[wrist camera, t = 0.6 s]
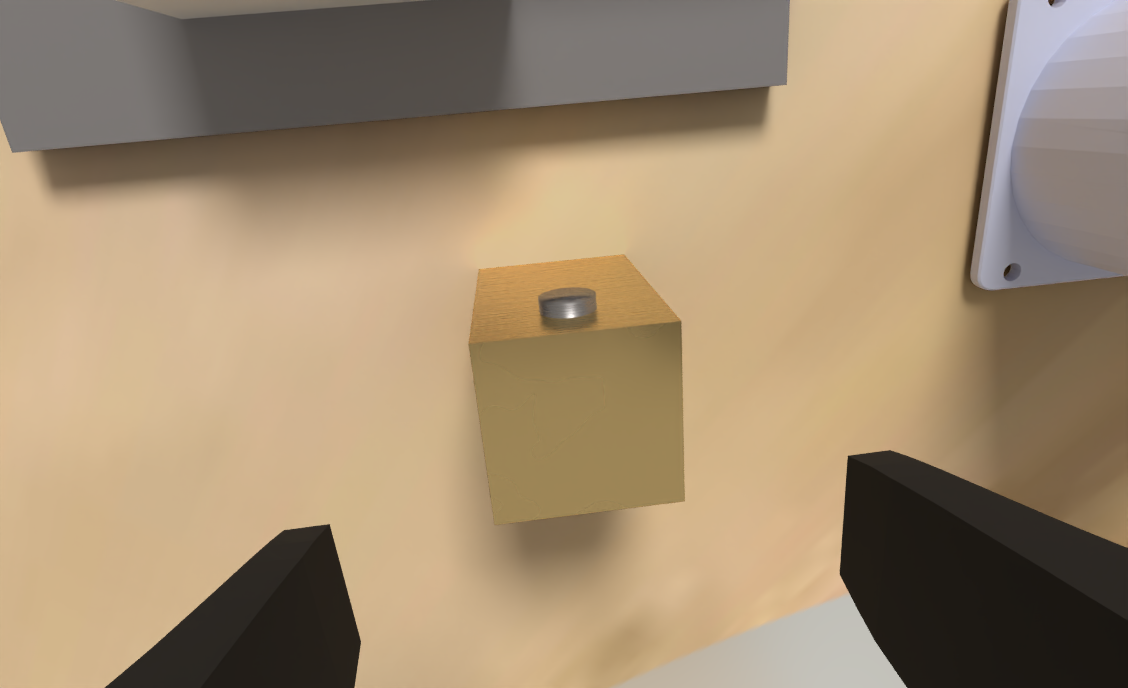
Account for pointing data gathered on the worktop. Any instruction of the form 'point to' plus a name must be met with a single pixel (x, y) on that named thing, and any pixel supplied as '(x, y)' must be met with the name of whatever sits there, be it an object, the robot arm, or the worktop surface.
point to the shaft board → (356, 61)
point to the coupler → (577, 389)
